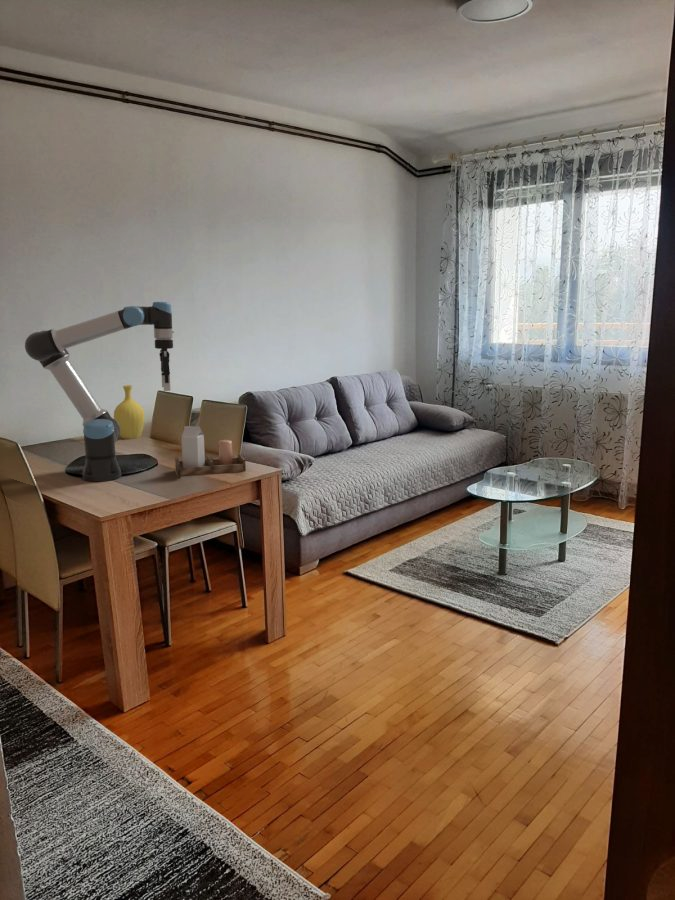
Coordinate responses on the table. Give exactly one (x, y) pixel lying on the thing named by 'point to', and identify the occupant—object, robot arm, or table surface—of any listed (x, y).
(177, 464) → the rack
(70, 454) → the table surface
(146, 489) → the table surface
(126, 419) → the vase
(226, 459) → the canister
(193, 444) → the milk carton
